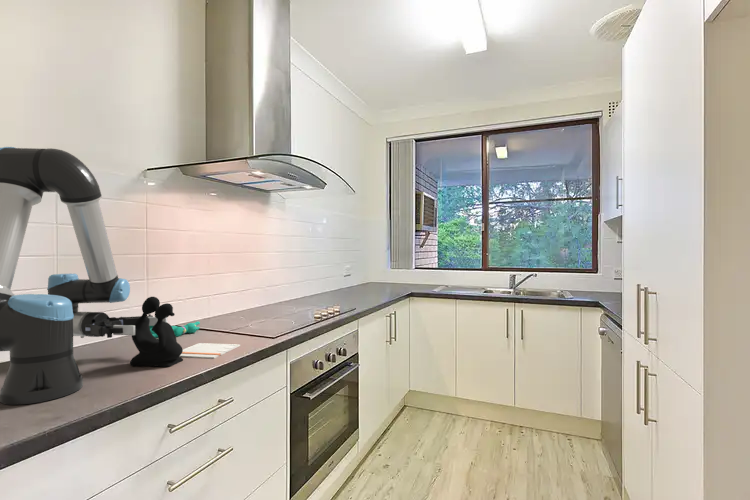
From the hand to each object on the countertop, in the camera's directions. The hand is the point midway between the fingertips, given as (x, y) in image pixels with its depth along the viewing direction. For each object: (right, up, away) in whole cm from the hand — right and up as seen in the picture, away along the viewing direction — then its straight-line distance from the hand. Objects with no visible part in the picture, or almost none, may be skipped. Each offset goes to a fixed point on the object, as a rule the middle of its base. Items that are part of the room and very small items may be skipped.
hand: (151, 325), depth 120 cm
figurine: (+3, -11, -1) cm, 12 cm away
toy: (-16, -11, +39) cm, 43 cm away
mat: (+11, -11, +12) cm, 20 cm away
